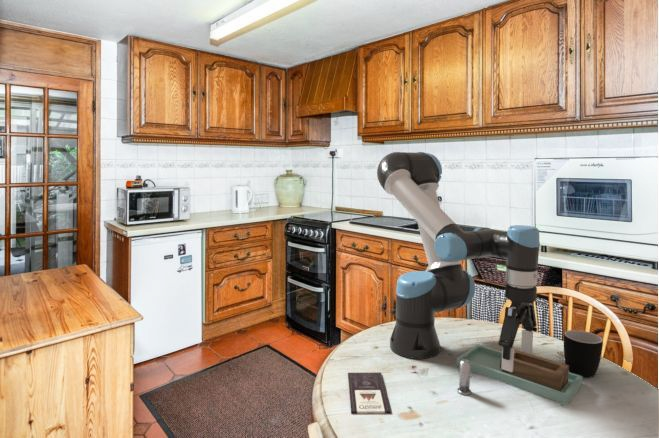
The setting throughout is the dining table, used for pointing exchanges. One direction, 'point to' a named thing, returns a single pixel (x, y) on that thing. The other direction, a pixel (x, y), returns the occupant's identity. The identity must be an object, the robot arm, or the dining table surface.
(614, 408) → the dining table surface
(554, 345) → the dining table surface
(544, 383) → the wooden rectangular frame
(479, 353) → the tray
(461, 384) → the silver cylindrical piece
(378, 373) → the chocolate bar
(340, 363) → the dining table surface
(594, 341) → the mug
